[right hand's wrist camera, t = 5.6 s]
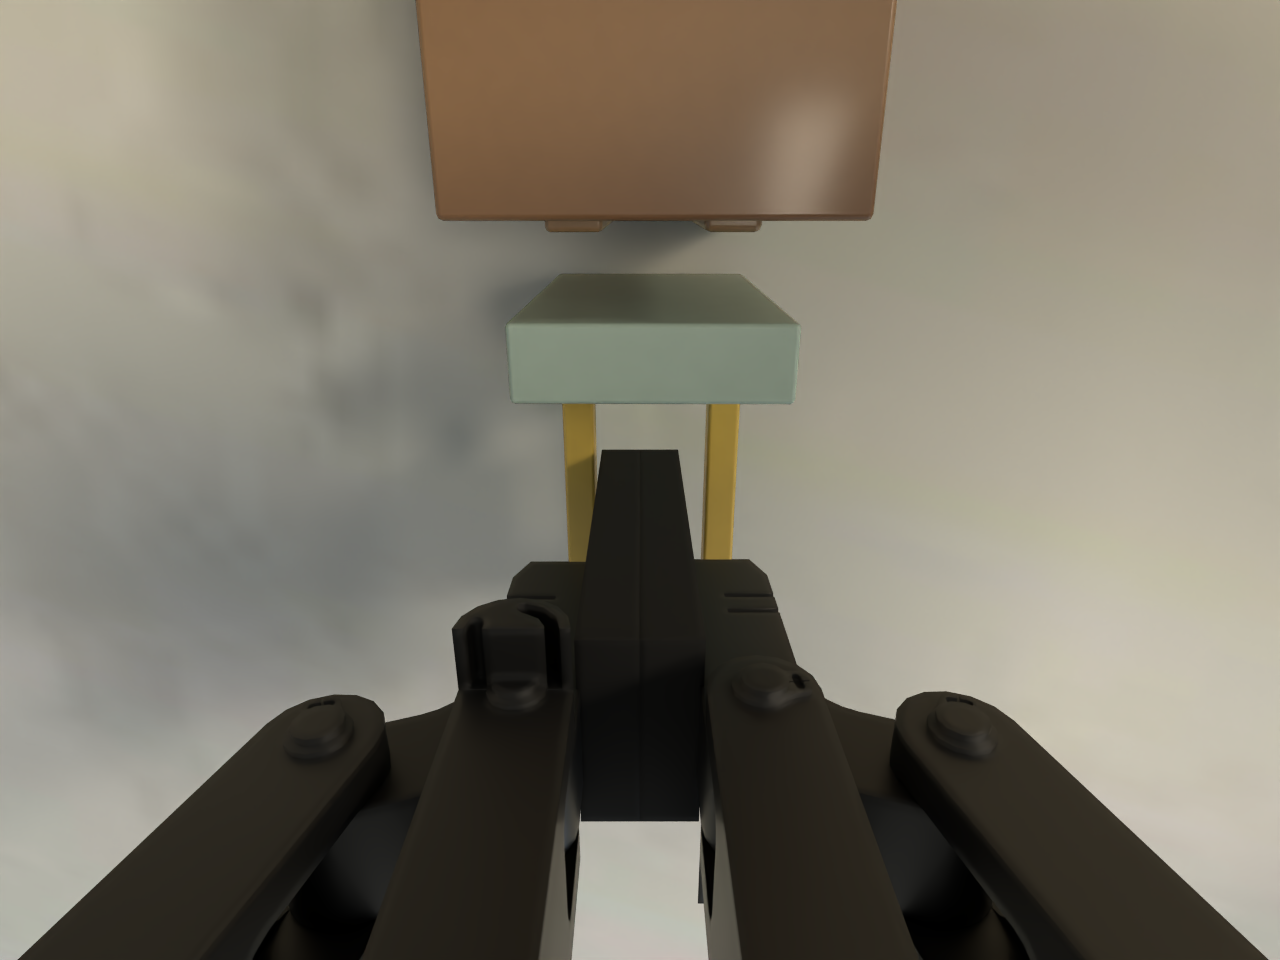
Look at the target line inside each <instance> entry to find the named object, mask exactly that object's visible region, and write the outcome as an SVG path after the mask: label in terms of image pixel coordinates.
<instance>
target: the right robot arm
mask: <svg viewBox="0 0 1280 960" xmlns="http://www.w3.org/2000/svg"><path fill="white" fill-rule="evenodd" d="M452 635H453V644H454V653H455V662H456V671H457V680H458V689H459V690H458V693H457V696H456V699H455V701H454V702H453V703H451V704H449V705H447V706H445V707H442V708H440V709H438V710H435V711H432V712H428V713H425V714H422V715H418V716H413V717H409V718H404V719H400V720H395V721H391V722H386V723H385V718H384V712H383V711H382V710H381V709H380V708H379V707H378V706H377V705H376V703H375V702H374V701H371V700H368V699H366V698H363V697H360V696H357V695H330V696H325V697H320V698H315V699H311V700H308V701H306V702H303V703H301V704H299V705H296V706H294V707H292V708H289V709H287V710H285V711H284V712H283V713H281V714H280V715H278V716H277V717H276V718H274V719H273V720H272V721H270V722H269V723H267V724H266V725H265V726H264V727H263V728H262V729H261V730H260V731H259V732H258V733H257V734H256V735H255V736H253V737H252V738H251V739H250V740H249V741H248V742H247V743H246V744H245V745H244V746H243V747H242V748H241V749H240V750H239V751H238V752H237V753H235V754H234V755H233V756H232V757H231V758H230V759H229V760H228V761H227V762H226V763H225V764H224V765H223V766H222V767H221V768H220V769H219V770H218V771H216V772H215V773H214V774H213V775H212V776H211V777H210V778H209V779H208V780H207V781H206V782H205V783H204V784H203V785H202V786H201V787H200V788H199V789H197V790H196V791H195V792H194V793H193V794H192V795H191V796H190V797H189V798H188V799H187V800H186V801H185V802H184V803H183V804H182V805H181V806H180V807H178V808H177V809H176V810H175V811H174V812H173V813H172V814H171V815H170V816H169V817H168V818H167V819H166V820H165V821H164V822H163V823H162V824H160V825H159V826H158V827H157V828H156V829H155V830H154V831H153V832H152V833H151V834H150V835H149V836H148V837H147V838H146V839H145V840H144V841H143V842H141V843H140V844H139V845H138V846H137V847H136V848H135V849H134V850H133V851H132V852H131V853H130V854H129V855H128V856H127V857H126V858H125V859H124V860H122V861H121V862H120V863H119V864H118V865H117V866H116V867H115V868H114V869H113V870H112V871H111V872H110V873H109V874H108V875H107V876H106V877H105V878H103V879H102V880H101V881H100V882H99V883H98V884H97V885H96V886H95V887H94V888H93V889H92V890H91V891H90V892H89V893H88V894H87V895H85V896H84V897H83V898H82V899H81V900H80V901H79V902H78V903H77V904H76V905H75V906H74V907H73V908H72V909H71V910H70V911H69V912H68V913H66V914H65V915H64V916H63V917H62V918H61V919H60V920H59V921H58V922H57V923H56V924H55V925H54V926H53V927H52V928H51V929H50V930H49V931H47V932H46V933H45V934H44V935H43V936H42V937H41V938H40V939H39V940H38V941H37V942H36V943H35V944H34V945H33V946H32V947H31V948H30V949H28V950H27V951H26V952H25V953H24V954H23V955H22V956H21V957H20V958H19V959H18V960H571V959H572V947H573V936H574V924H575V912H576V901H577V889H578V878H579V866H580V842H579V821H580V810H581V821H699V807H700V817H701V842H700V866H699V890H698V903H704V911H705V923H706V935H707V946H708V958H709V960H1268V959H1267V958H1266V957H1265V956H1264V955H1263V954H1262V953H1261V952H1260V951H1259V950H1258V949H1257V948H1255V947H1254V946H1253V945H1252V944H1251V943H1250V942H1249V941H1248V940H1247V939H1246V938H1245V937H1244V936H1243V935H1242V934H1241V933H1240V932H1238V931H1237V930H1236V929H1235V928H1234V927H1233V926H1232V925H1231V924H1230V923H1229V922H1228V921H1227V920H1226V919H1225V918H1224V917H1222V916H1221V915H1220V914H1219V913H1218V912H1217V911H1216V910H1215V909H1214V908H1213V907H1212V906H1211V905H1210V904H1209V903H1208V902H1207V901H1205V900H1204V899H1203V898H1202V897H1201V896H1200V895H1199V894H1198V893H1197V892H1196V891H1195V890H1194V889H1193V888H1192V887H1191V886H1190V885H1188V884H1187V883H1186V882H1185V881H1184V880H1183V879H1182V878H1181V877H1180V876H1179V875H1178V874H1177V873H1176V872H1175V871H1174V870H1172V869H1171V868H1170V867H1169V866H1168V865H1167V864H1166V863H1165V862H1164V861H1163V860H1162V859H1161V858H1160V857H1159V856H1158V855H1157V854H1155V853H1154V852H1153V851H1152V850H1151V849H1150V848H1149V847H1148V846H1147V845H1146V844H1145V843H1144V842H1143V841H1142V840H1141V839H1139V838H1138V837H1137V836H1136V835H1135V834H1134V833H1133V832H1132V831H1131V830H1130V829H1129V828H1128V827H1127V826H1126V825H1125V824H1124V823H1122V822H1121V821H1120V820H1119V819H1118V818H1117V817H1116V816H1115V815H1114V814H1113V813H1112V812H1111V811H1110V810H1109V809H1108V808H1106V807H1105V806H1104V805H1103V804H1102V803H1101V802H1100V801H1099V800H1098V799H1097V798H1096V797H1095V796H1094V795H1093V794H1092V793H1091V792H1089V791H1088V790H1087V789H1086V788H1085V787H1084V786H1083V785H1082V784H1081V783H1080V782H1079V781H1078V780H1077V779H1076V778H1075V777H1073V776H1072V775H1071V774H1070V773H1069V772H1068V771H1067V770H1066V769H1065V768H1064V767H1063V766H1062V765H1061V764H1060V763H1059V762H1058V761H1056V760H1055V759H1054V758H1053V757H1052V756H1051V755H1050V754H1049V753H1048V752H1047V751H1046V750H1045V749H1044V748H1043V747H1042V746H1040V745H1039V744H1038V743H1037V742H1036V741H1035V740H1034V739H1033V738H1032V737H1031V736H1030V735H1029V734H1028V733H1027V732H1026V731H1025V730H1023V729H1022V728H1021V727H1020V726H1019V725H1018V724H1017V723H1016V722H1015V721H1014V720H1012V719H1011V718H1010V717H1008V716H1007V715H1005V714H1004V713H1003V712H1001V711H1000V710H998V709H997V708H996V707H994V706H992V705H989V704H987V703H985V702H982V701H980V700H978V699H975V698H973V697H971V696H966V695H961V694H956V693H951V692H947V691H944V692H923V693H920V694H917V695H914V696H912V697H909V698H907V699H906V700H905V701H904V702H903V703H902V704H901V705H900V706H899V708H898V709H897V712H896V718H895V720H894V719H890V718H885V717H881V716H876V715H872V714H867V713H862V712H859V711H855V710H852V709H848V708H845V707H842V706H840V705H838V704H836V703H833V702H831V701H829V700H827V699H825V698H824V695H823V692H822V689H821V688H820V686H819V685H818V683H817V682H816V680H815V679H814V677H813V676H812V675H811V674H809V673H808V672H807V671H805V670H804V669H802V668H801V667H799V666H798V665H797V664H796V661H795V658H794V655H793V652H792V649H791V646H790V643H789V640H788V637H787V634H786V631H785V628H784V625H783V622H782V619H781V616H780V613H778V607H777V604H776V601H775V598H774V597H773V592H772V589H771V586H770V583H769V580H768V577H767V575H766V574H765V573H764V572H763V571H762V570H761V569H759V568H758V567H757V566H756V565H755V564H754V563H753V562H751V561H750V560H749V559H694V556H693V549H692V542H691V535H690V528H689V522H688V515H687V508H686V501H685V495H684V488H683V481H682V474H681V467H680V461H679V454H678V450H602V454H601V461H600V467H599V474H598V481H597V488H596V495H595V501H594V508H593V515H592V522H591V528H590V535H589V542H588V549H587V556H586V562H530V563H529V564H528V565H527V566H526V567H524V568H523V569H522V570H521V571H520V572H519V573H518V574H517V575H515V576H514V577H513V579H512V582H511V585H510V589H509V592H508V595H507V599H504V600H497V601H494V602H491V603H487V604H484V605H481V606H478V607H476V608H475V609H473V610H471V611H470V612H468V613H466V614H465V615H463V616H461V618H460V619H459V620H458V622H457V623H456V624H455V625H454V627H453V628H452Z"/></svg>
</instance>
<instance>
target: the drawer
mask: <svg viewBox="0 0 1280 960" xmlns="http://www.w3.org/2000/svg"><path fill="white" fill-rule="evenodd" d="M611 222H613V221H545V228H546V230H547V231H549V232H599V231H601V230H603V229H604V228H605V227H606V226H608V225H609V224H610V223H611ZM692 222H694V223H696V224H697V225H699V226H701V227H702V228H704V229H706V230H708V231H710V232H755V231H758V230H760V227H761V225H762V221H692ZM505 332H506V346H507V361H508V376H509V391H510V400H511V402H512V403H515V404H562V408H563V432H564V457H565V481H566V506H567V531H568V555H569V562H586V556H587V549H588V542H589V535H590V528H591V522H592V515H593V508H594V501H595V495H596V488H597V455H596V412H595V404H706V430H705V459H704V488H703V516H702V545H701V559H732V544H733V525H734V506H735V486H736V467H737V448H738V429H739V410H740V404H792V403H794V401H795V397H796V384H797V372H798V360H799V347H800V335H801V327H800V324H799V323H797V322H796V321H795V320H794V319H793V318H792V317H790V316H789V315H788V314H787V313H786V312H785V311H783V310H782V309H781V308H780V307H779V306H778V305H776V304H775V303H774V302H773V301H772V300H770V299H769V298H768V297H767V296H766V295H765V294H763V293H762V292H761V291H760V290H759V289H758V288H756V287H755V286H754V285H753V284H752V283H751V282H749V281H748V280H747V279H746V278H745V277H743V276H742V275H740V274H561V275H559V276H558V277H557V278H556V279H555V280H553V281H552V282H551V283H550V284H549V285H548V286H547V287H546V288H545V289H544V290H543V291H542V292H541V293H539V294H538V295H537V296H536V297H535V298H534V299H533V300H532V301H531V302H530V303H529V304H528V305H527V306H525V307H524V308H523V309H522V310H521V311H520V312H519V313H518V314H517V315H516V316H515V317H514V318H512V319H511V320H510V321H509V322H508V323H507V324H506V327H505Z"/></svg>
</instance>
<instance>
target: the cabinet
mask: <svg viewBox="0 0 1280 960" xmlns="http://www.w3.org/2000/svg"><path fill="white" fill-rule="evenodd" d="M896 5H897V0H416V10H417V20H418V31H419V41H420V51H421V62H422V72H423V82H424V93H425V103H426V113H427V124H428V134H429V144H430V154H431V165H432V175H433V185H434V196H435V206H436V214H437V216H438V218H439V219H441V220H443V221H866V220H869V219H871V217H872V215H873V212H874V203H875V194H876V185H877V176H878V167H879V158H880V149H881V140H882V131H883V122H884V113H885V104H886V95H887V86H888V77H889V68H890V59H891V50H892V41H893V32H894V23H895V14H896Z"/></svg>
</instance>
